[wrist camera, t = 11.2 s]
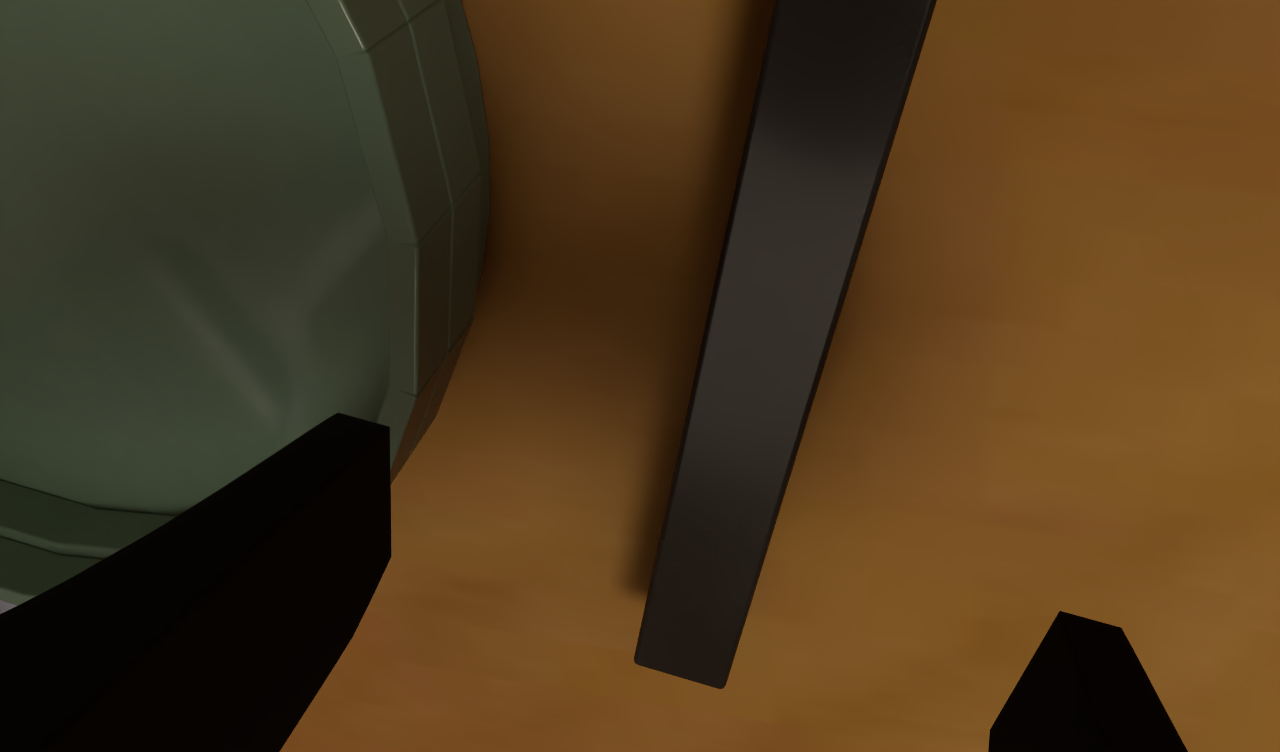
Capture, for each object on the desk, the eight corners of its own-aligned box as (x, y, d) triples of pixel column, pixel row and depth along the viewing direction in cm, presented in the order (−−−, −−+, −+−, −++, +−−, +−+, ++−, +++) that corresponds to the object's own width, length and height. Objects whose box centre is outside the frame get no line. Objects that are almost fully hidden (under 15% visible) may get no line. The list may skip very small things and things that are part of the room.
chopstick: (1025, -325, 11) (1035, -318, 10) (740, 620, 21) (723, 692, 20) (862, -354, 11) (849, -352, 10) (653, 596, 21) (632, 665, 20)
